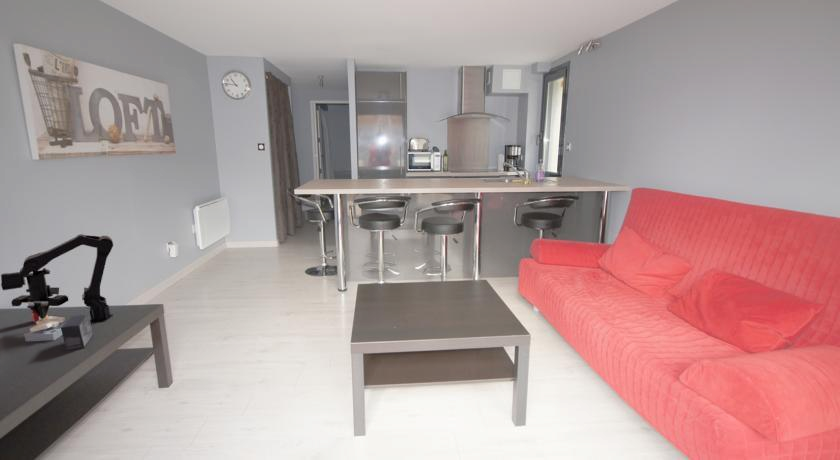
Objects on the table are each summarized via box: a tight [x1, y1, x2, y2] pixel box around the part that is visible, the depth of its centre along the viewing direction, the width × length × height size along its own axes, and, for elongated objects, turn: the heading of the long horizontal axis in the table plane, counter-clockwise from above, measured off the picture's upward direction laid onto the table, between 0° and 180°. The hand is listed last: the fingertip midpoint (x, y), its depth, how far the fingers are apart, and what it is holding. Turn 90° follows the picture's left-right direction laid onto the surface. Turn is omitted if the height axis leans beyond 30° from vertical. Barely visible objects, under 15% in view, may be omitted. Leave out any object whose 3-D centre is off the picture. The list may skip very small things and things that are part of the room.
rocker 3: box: [43, 315, 66, 323], centre depth 177 cm, size 7×2×2 cm, turn 96°
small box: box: [61, 313, 95, 351], centre depth 167 cm, size 11×6×10 cm, turn 21°
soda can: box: [30, 309, 49, 324], centre depth 186 cm, size 5×5×12 cm
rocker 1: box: [29, 322, 53, 332], centre depth 171 cm, size 7×2×2 cm, turn 95°
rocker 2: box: [35, 319, 59, 328], centre depth 174 cm, size 7×2×2 cm, turn 96°
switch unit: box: [23, 321, 67, 342], centre depth 175 cm, size 11×11×4 cm
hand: (43, 318), depth 177 cm, fingers closed
